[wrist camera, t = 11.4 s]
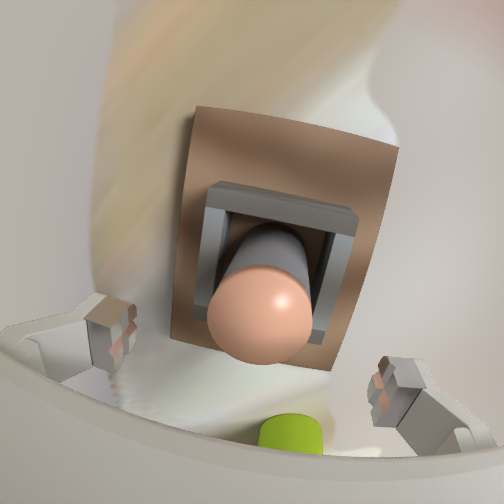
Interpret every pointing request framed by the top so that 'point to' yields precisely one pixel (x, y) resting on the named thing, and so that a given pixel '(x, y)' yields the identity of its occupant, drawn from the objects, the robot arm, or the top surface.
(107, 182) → the top surface
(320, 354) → the wooden socket board
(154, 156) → the top surface
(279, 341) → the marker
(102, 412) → the robot arm
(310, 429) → the soap dispenser
